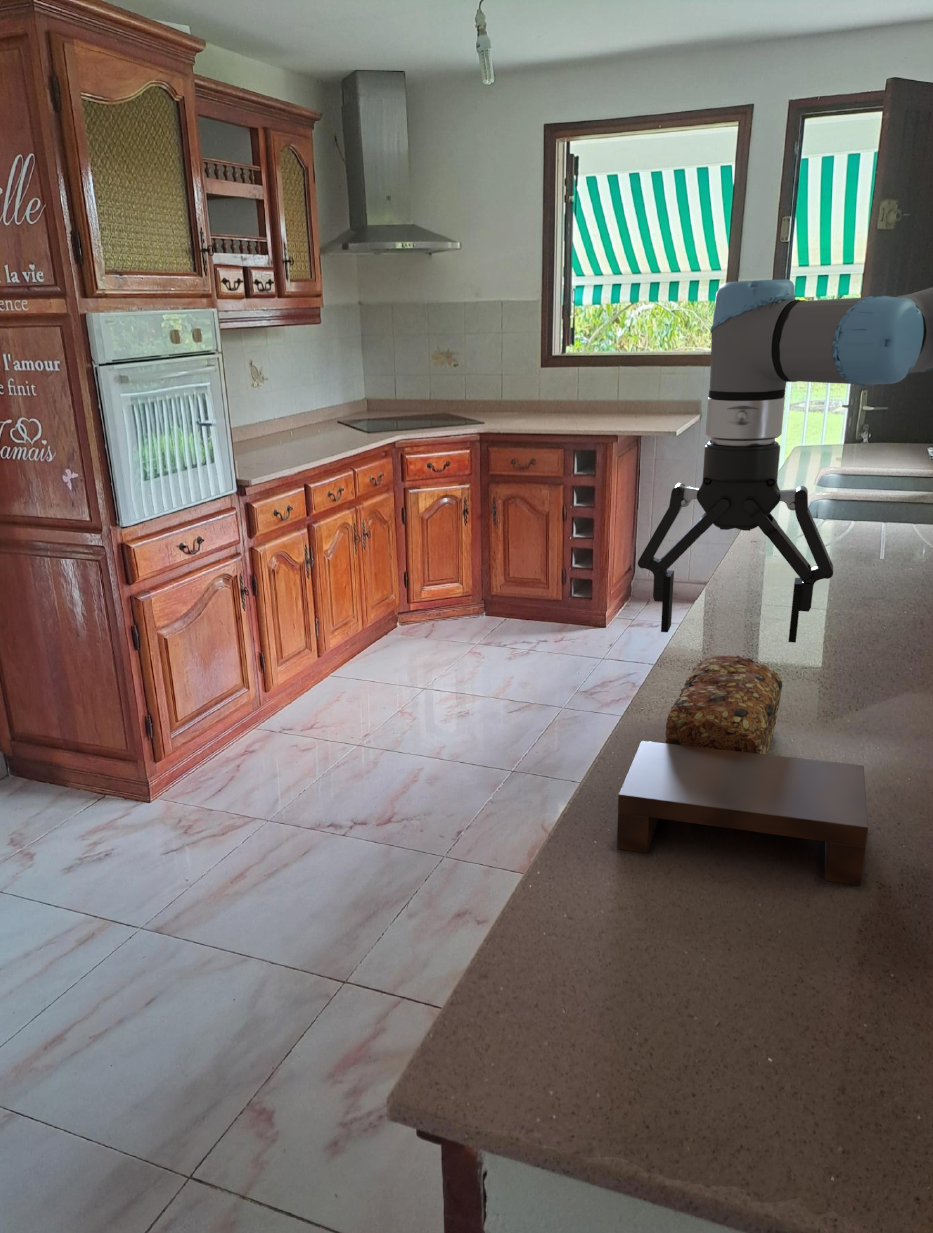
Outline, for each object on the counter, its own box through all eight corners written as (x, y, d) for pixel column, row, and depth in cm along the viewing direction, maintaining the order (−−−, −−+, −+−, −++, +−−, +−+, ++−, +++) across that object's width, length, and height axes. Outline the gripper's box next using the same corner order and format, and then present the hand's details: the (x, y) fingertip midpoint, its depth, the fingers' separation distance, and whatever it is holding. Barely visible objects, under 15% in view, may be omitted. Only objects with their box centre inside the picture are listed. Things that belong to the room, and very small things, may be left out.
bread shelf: (857, 818, 98) (863, 765, 96) (860, 886, 87) (868, 827, 84) (639, 790, 106) (641, 740, 104) (616, 848, 94) (618, 794, 92)
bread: (694, 720, 123) (698, 646, 119) (782, 732, 118) (789, 655, 115) (659, 782, 107) (662, 699, 104) (759, 798, 103) (766, 712, 99)
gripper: (615, 443, 101) (610, 634, 109) (875, 446, 92) (849, 654, 100) (628, 434, 108) (622, 615, 115) (872, 436, 99) (848, 632, 106)
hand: (727, 633), depth 107 cm, fingers open, 13 cm apart
